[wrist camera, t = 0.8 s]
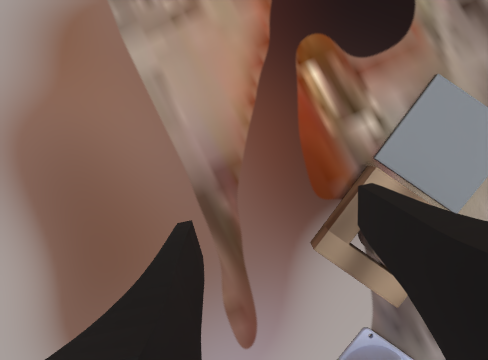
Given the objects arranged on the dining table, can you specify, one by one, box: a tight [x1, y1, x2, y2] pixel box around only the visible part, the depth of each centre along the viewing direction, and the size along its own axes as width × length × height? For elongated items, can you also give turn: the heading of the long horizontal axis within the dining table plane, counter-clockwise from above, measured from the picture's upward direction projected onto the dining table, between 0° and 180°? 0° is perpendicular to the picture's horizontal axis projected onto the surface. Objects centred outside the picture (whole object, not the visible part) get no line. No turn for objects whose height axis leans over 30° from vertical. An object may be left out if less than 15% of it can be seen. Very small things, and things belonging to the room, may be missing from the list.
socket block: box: [311, 166, 431, 308], centre depth 30 cm, size 10×10×2 cm
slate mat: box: [374, 74, 488, 213], centre depth 29 cm, size 10×10×1 cm
